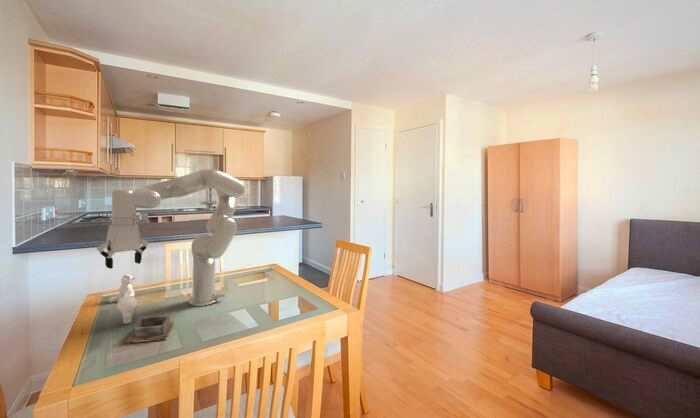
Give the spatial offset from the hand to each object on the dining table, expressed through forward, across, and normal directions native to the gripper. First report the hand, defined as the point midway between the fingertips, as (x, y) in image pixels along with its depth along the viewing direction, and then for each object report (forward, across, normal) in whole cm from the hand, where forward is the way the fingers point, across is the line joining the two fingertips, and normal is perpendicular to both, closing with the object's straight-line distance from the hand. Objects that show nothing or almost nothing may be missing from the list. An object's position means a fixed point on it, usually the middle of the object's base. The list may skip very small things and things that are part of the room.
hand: (124, 265), depth 121 cm
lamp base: (+23, -1, +18) cm, 29 cm away
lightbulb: (+23, 0, +2) cm, 23 cm away
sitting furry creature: (+23, -11, -24) cm, 35 cm away
